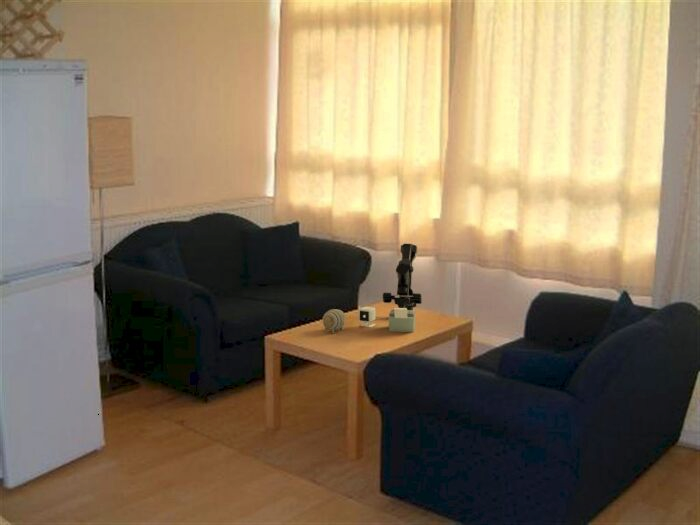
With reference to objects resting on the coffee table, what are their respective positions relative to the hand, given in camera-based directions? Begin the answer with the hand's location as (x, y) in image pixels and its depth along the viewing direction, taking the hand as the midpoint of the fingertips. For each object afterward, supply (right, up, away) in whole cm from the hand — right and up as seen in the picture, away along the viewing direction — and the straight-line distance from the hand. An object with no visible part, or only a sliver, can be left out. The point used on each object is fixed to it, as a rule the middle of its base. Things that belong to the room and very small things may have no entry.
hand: (401, 313), depth 398 cm
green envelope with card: (0, -9, +4) cm, 10 cm away
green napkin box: (+1, -9, +9) cm, 13 cm away
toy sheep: (-32, -10, +8) cm, 34 cm away
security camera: (-16, -8, +15) cm, 23 cm away
